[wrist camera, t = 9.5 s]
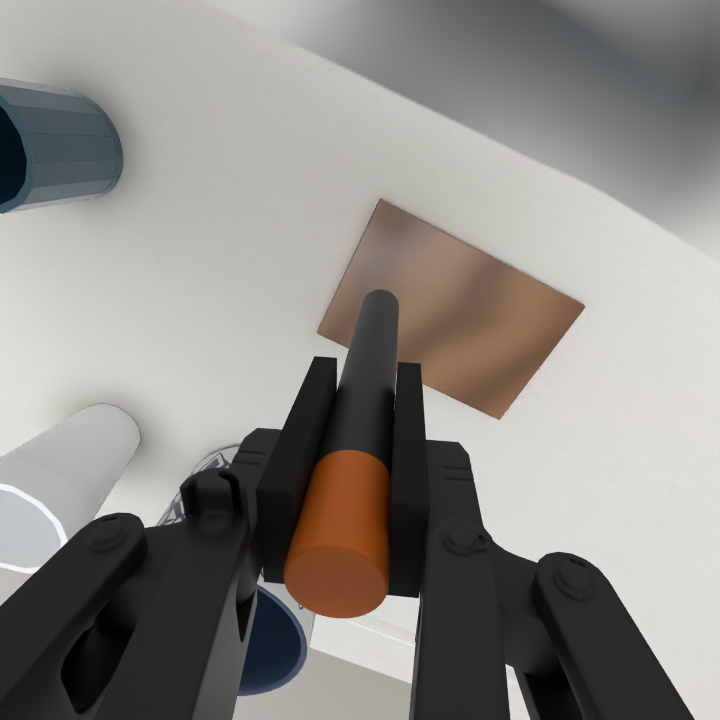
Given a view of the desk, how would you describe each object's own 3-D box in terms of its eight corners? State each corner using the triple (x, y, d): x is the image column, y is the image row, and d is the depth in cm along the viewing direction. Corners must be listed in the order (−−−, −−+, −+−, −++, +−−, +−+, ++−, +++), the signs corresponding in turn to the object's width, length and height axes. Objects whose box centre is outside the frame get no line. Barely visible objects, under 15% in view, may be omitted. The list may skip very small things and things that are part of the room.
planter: (265, 576, 52) (220, 717, 39) (159, 493, 48) (68, 619, 35) (366, 514, 47) (351, 654, 34) (255, 414, 43) (189, 530, 30)
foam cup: (143, 480, 48) (58, 588, 36) (59, 445, 47) (-57, 545, 35) (165, 414, 44) (77, 512, 32) (73, 374, 43) (-53, 460, 31)
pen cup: (13, 88, 32) (-117, 68, 24) (111, 90, 32) (11, 71, 24) (42, 196, 36) (-65, 210, 28) (131, 200, 35) (49, 215, 27)
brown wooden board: (317, 331, 38) (316, 333, 38) (380, 198, 33) (379, 199, 33) (498, 417, 40) (499, 420, 40) (583, 304, 35) (586, 306, 35)
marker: (361, 287, 24) (279, 540, 8) (401, 289, 24) (391, 551, 8) (360, 324, 25) (284, 614, 9) (398, 326, 24) (385, 624, 9)
